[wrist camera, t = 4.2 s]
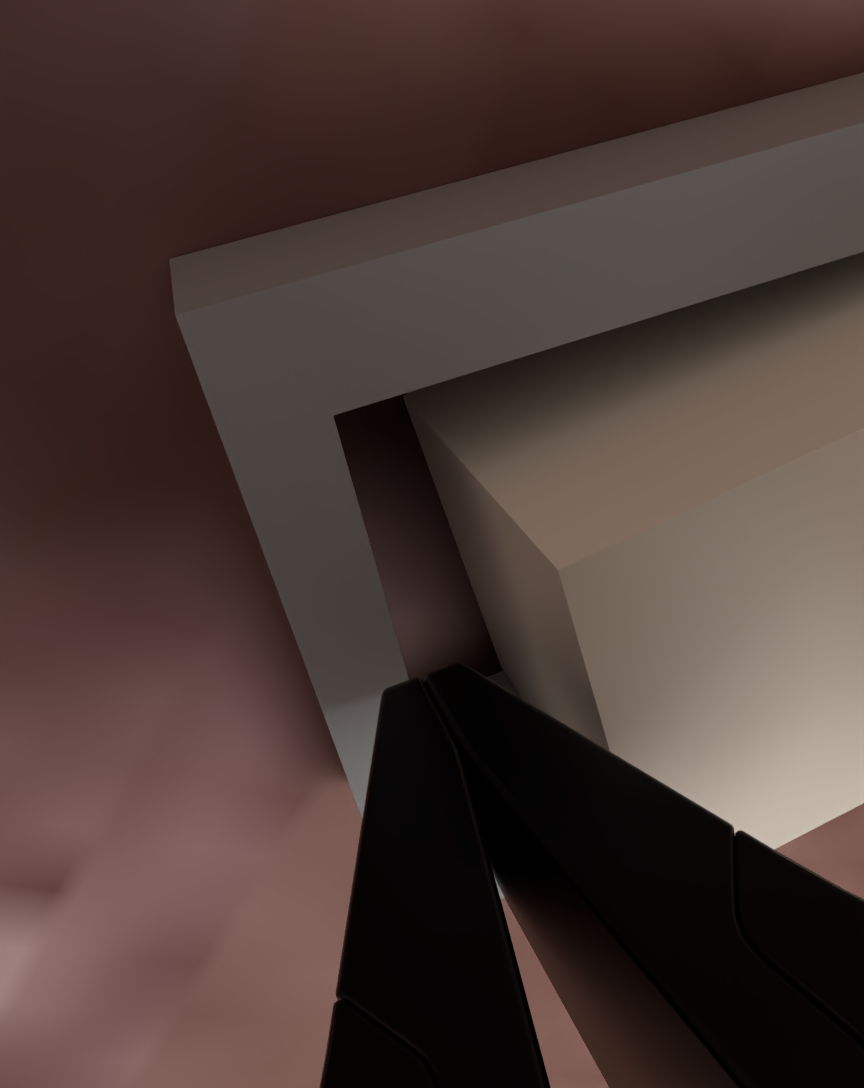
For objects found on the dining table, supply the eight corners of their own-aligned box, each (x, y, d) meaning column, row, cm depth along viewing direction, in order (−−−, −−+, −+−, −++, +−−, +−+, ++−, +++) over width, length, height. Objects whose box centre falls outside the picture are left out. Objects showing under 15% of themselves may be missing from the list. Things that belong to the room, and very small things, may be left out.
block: (497, 659, 13) (655, 910, 9) (399, 392, 11) (557, 569, 7) (1000, 421, 14) (1355, 548, 10) (1024, 120, 12) (1517, 124, 7)
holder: (359, 782, 13) (406, 938, 11) (168, 258, 9) (175, 314, 6) (1003, 535, 15) (1169, 618, 13) (1107, 7, 11) (1392, -25, 8)
